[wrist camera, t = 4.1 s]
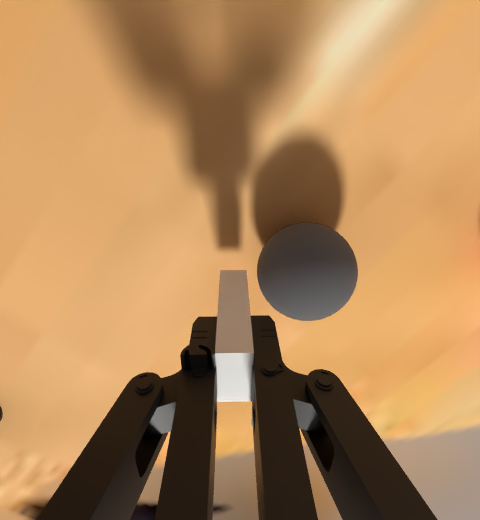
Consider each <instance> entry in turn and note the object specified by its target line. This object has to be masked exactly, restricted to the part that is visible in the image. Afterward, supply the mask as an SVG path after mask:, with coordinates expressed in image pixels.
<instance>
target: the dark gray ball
mask: <svg viewBox="0 0 480 520" xmlns="http://www.w3.org/2000/svg"><path fill="white" fill-rule="evenodd" d="M357 276H358V269H357V262H356V258H355V255H354V252H353V250H352V249H351V247H350V245H349V244H348V242H347V241H346V240H345V239H344V238H343V237H342V236H341V235H340V234H339V233H338V232H336V231H334V230H333V229H331V228H329V227H327V226H324V225H321V224H317V223H297V224H293V225H290V226H287V227H285V228H283V229H281V230H280V231H278V232H277V233H275V234H274V235H273V236H272V237H271V238H270V239H269V240H268V242H267V243H266V244H265V246H264V247H263V249H262V251H261V254H260V256H259V260H258V265H257V277H258V282H259V286H260V289H261V291H262V293H263V295H264V297H265V298H266V300H267V301H268V302H269V304H270V305H271V306H272V307H273V308H274V309H276V310H277V311H278V312H280V313H282V314H283V315H285V316H287V317H290V318H293V319H296V320H302V321H313V320H319V319H323V318H326V317H328V316H331V315H332V314H334V313H336V312H337V311H338V310H340V309H341V308H342V307H343V306H344V305H345V304H346V303H347V302H348V300H349V299H350V297H351V295H352V294H353V292H354V289H355V286H356V282H357Z"/></svg>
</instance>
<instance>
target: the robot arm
mask: <svg viewBox="0 0 480 520" xmlns="http://www.w3.org/2000/svg"><path fill="white" fill-rule="evenodd" d="M180 356H181V366H182V369H181V370H180V371H179V372H177V373H176V374H173V375H171V376H168V377H164V378H160V377H159V375H157V374H155V373H148V372H146V373H142V374H139V375H137V376H135V377H134V378H132V379H131V380H130V382H129V383H128V384H127V385H126V387H125V388H124V390H123V391H122V393H121V394H120V396H119V397H118V399H117V400H116V402H115V403H114V405H113V406H112V408H111V409H110V411H109V412H108V414H107V415H106V417H105V418H104V420H103V421H102V423H101V424H100V426H99V427H98V429H97V430H96V432H95V433H94V435H93V436H92V438H91V439H90V441H89V442H88V444H87V445H86V447H85V448H84V450H83V451H82V453H81V454H80V456H79V457H78V459H77V460H76V462H75V463H74V465H73V466H72V468H71V469H70V471H69V472H68V474H67V475H66V477H65V478H64V480H63V481H62V483H61V484H60V486H59V487H58V489H57V490H56V492H55V493H54V495H53V496H52V498H51V499H50V501H49V502H48V504H47V505H46V507H45V508H44V510H43V511H42V513H41V514H40V516H39V517H38V519H37V520H130V518H131V515H132V513H133V511H134V509H135V506H136V504H137V502H138V500H139V497H140V495H141V493H142V491H143V488H144V486H145V484H146V482H147V479H148V477H149V475H150V473H151V470H152V468H153V466H154V464H155V461H156V459H157V457H158V455H159V452H160V450H161V448H162V446H163V443H164V441H165V439H166V437H167V434H168V432H169V431H171V434H170V439H169V445H168V450H167V456H166V461H165V467H164V473H163V478H162V484H161V489H160V495H159V500H158V506H157V511H156V517H155V520H212V518H213V495H214V472H215V448H216V425H217V402H238V401H252V425H253V436H254V451H255V467H256V482H257V498H258V513H259V520H318V518H317V513H316V508H315V503H314V499H313V494H312V489H311V484H310V479H309V474H308V469H307V465H306V460H305V455H304V450H303V445H302V440H301V435H300V431H299V428H300V429H301V432H302V434H303V436H304V438H305V440H306V442H307V444H308V447H309V449H310V451H311V453H312V455H313V457H314V459H315V461H316V464H317V466H318V468H319V470H320V472H321V474H322V476H323V478H324V481H325V483H326V485H327V487H328V489H329V491H330V493H331V496H332V498H333V500H334V502H335V504H336V506H337V508H338V510H339V513H340V515H341V517H342V519H343V520H437V518H436V517H435V515H434V514H433V513H432V511H431V510H430V508H429V507H428V505H427V504H426V503H425V501H424V500H423V498H422V497H421V495H420V494H419V492H418V491H417V490H416V488H415V487H414V485H413V484H412V482H411V481H410V480H409V478H408V477H407V475H406V474H405V472H404V471H403V470H402V468H401V467H400V465H399V464H398V462H397V461H396V460H395V458H394V457H393V455H392V454H391V452H390V451H389V450H388V448H387V447H386V445H385V444H384V442H383V441H382V439H381V438H380V436H379V435H378V434H377V432H376V431H375V429H374V428H373V426H372V425H371V424H370V422H369V421H368V419H367V418H366V416H365V415H364V414H363V412H362V411H361V409H360V408H359V406H358V405H357V403H356V402H355V401H354V399H353V398H352V396H351V395H350V393H349V392H348V391H347V389H346V388H345V386H344V385H343V383H342V382H341V381H340V379H339V378H338V377H337V376H336V375H335V374H333V373H332V372H330V371H327V370H323V369H319V370H314V371H311V372H310V373H309V374H308V376H307V375H303V374H299V373H296V372H293V371H292V370H290V369H289V368H287V367H286V366H285V364H284V363H283V361H282V357H281V352H280V347H279V342H278V337H277V332H276V327H275V322H274V321H273V320H272V318H271V317H270V316H251V315H250V304H249V293H248V282H247V271H246V270H220V283H219V298H218V314H217V317H198V318H197V319H196V320H195V322H194V323H193V327H192V333H191V339H190V344H189V346H187V347H186V348H184V349H183V350H182V352H181V355H180Z"/></svg>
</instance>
